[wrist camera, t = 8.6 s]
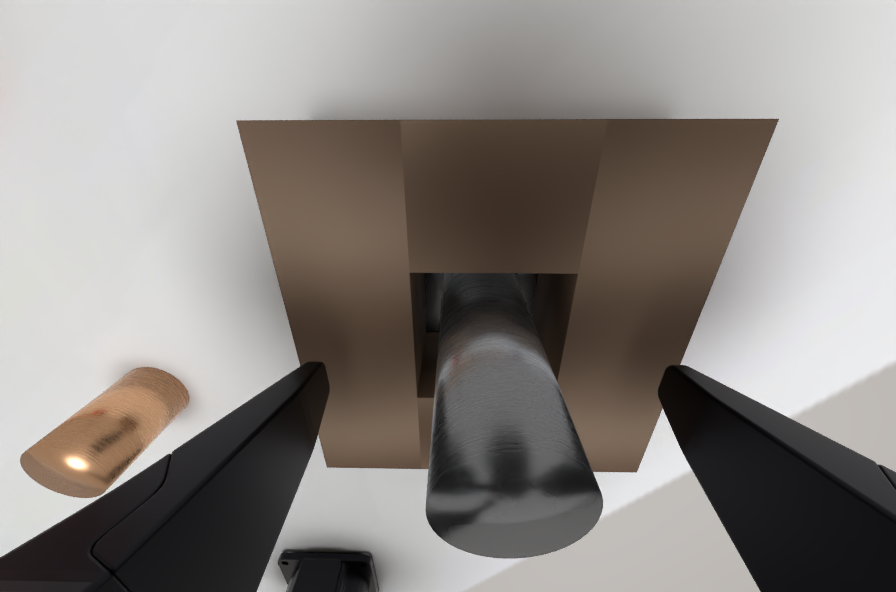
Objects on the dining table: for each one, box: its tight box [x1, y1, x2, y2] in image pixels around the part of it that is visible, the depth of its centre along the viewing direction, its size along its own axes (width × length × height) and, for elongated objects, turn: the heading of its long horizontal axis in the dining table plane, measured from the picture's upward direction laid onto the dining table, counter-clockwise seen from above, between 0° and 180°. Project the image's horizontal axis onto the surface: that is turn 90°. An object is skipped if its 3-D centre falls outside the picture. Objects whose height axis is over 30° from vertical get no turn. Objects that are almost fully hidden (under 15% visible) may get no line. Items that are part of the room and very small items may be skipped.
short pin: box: [20, 367, 189, 498], centre depth 15 cm, size 3×3×4 cm
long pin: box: [426, 273, 603, 558], centre depth 10 cm, size 3×3×9 cm
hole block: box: [237, 119, 779, 472], centre depth 12 cm, size 12×12×4 cm
